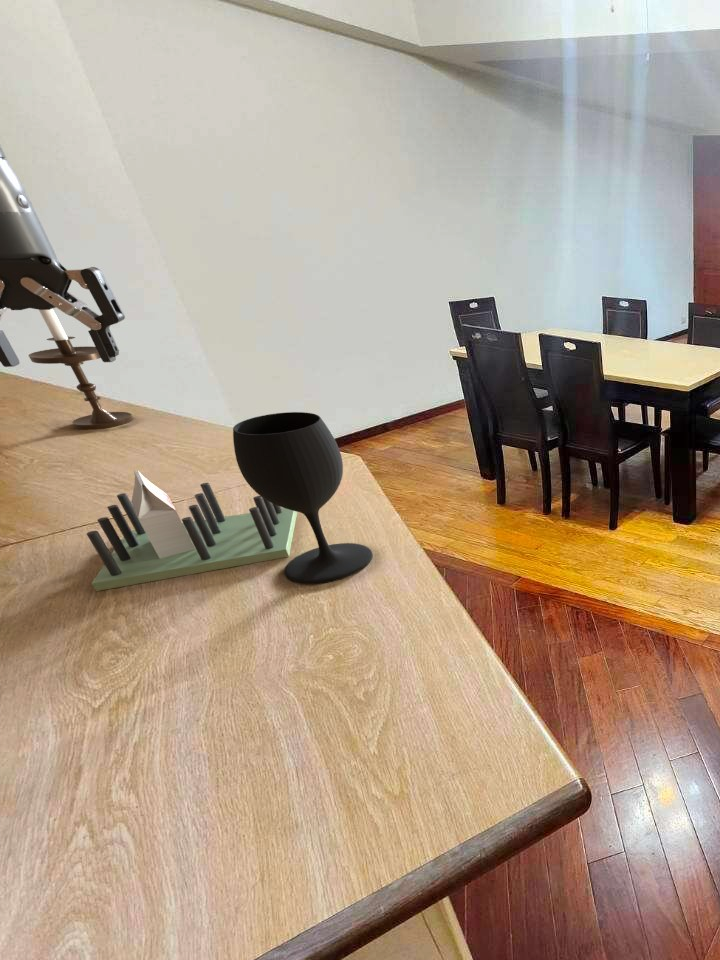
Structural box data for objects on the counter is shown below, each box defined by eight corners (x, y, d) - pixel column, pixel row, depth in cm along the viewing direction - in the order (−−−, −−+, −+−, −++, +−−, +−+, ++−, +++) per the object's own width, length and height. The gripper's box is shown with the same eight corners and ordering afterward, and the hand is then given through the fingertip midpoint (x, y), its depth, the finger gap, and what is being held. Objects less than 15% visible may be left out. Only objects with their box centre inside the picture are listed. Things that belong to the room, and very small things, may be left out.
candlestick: (77, 434, 118) (-31, 237, 100) (61, 423, 123) (-46, 233, 105) (147, 421, 126) (58, 236, 108) (128, 411, 131) (40, 233, 113)
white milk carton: (159, 558, 78) (122, 489, 73) (151, 540, 82) (116, 474, 77) (195, 549, 80) (161, 482, 75) (185, 532, 84) (153, 467, 79)
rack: (96, 591, 73) (65, 541, 70) (130, 538, 84) (105, 492, 81) (289, 556, 82) (270, 510, 78) (297, 512, 93) (281, 470, 90)
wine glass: (363, 579, 78) (314, 434, 68) (272, 589, 75) (206, 439, 65) (380, 541, 86) (338, 408, 76) (299, 549, 84) (244, 411, 74)
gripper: (86, 209, 68) (149, 354, 76) (-97, 202, 62) (-8, 360, 70) (60, 211, 63) (131, 366, 71) (-144, 203, 56) (-40, 374, 65)
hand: (62, 363), depth 70 cm, fingers open, 8 cm apart
